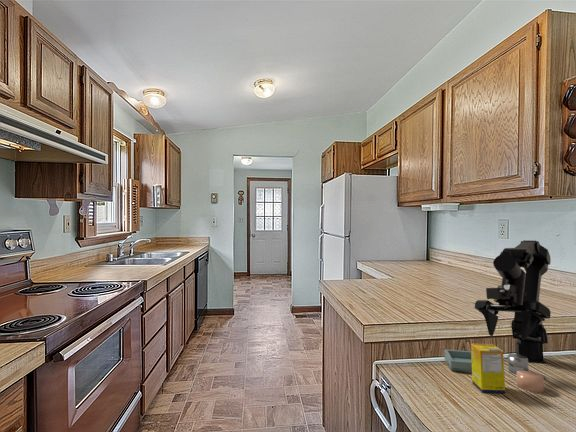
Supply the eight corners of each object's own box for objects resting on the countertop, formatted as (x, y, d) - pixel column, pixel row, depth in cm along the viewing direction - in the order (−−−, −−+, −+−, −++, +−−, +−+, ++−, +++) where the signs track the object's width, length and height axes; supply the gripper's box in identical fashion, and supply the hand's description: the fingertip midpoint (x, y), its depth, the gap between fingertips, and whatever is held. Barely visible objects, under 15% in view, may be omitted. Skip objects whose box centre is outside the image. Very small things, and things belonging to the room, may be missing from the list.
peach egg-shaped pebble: (538, 384, 92) (537, 371, 92) (548, 394, 86) (548, 380, 87) (513, 382, 94) (512, 369, 94) (522, 392, 88) (521, 378, 88)
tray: (480, 361, 109) (479, 352, 109) (490, 374, 99) (490, 364, 99) (444, 358, 112) (444, 349, 112) (451, 371, 101) (450, 360, 102)
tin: (524, 369, 102) (523, 354, 102) (531, 376, 97) (531, 360, 98) (506, 368, 104) (505, 353, 104) (512, 374, 99) (511, 359, 99)
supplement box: (494, 383, 93) (492, 343, 93) (505, 393, 87) (504, 350, 88) (471, 382, 93) (470, 342, 94) (481, 392, 88) (480, 350, 88)
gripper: (466, 276, 107) (458, 323, 101) (528, 272, 90) (523, 329, 85) (489, 290, 110) (482, 337, 104) (553, 290, 94) (549, 345, 88)
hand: (506, 337), depth 95 cm, fingers open, 9 cm apart
